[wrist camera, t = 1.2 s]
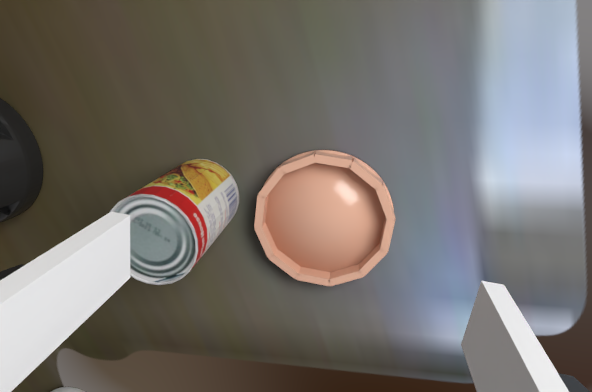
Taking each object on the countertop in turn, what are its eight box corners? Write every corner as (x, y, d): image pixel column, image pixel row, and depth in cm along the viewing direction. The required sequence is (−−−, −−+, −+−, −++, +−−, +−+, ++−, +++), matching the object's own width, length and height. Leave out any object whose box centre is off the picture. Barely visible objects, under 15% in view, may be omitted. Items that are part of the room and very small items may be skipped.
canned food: (161, 162, 44) (91, 199, 33) (231, 154, 43) (184, 190, 31) (177, 231, 46) (118, 287, 35) (245, 225, 45) (206, 282, 34)
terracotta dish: (252, 263, 46) (247, 272, 44) (265, 139, 42) (260, 143, 40) (378, 287, 45) (379, 297, 43) (407, 162, 40) (409, 167, 38)
